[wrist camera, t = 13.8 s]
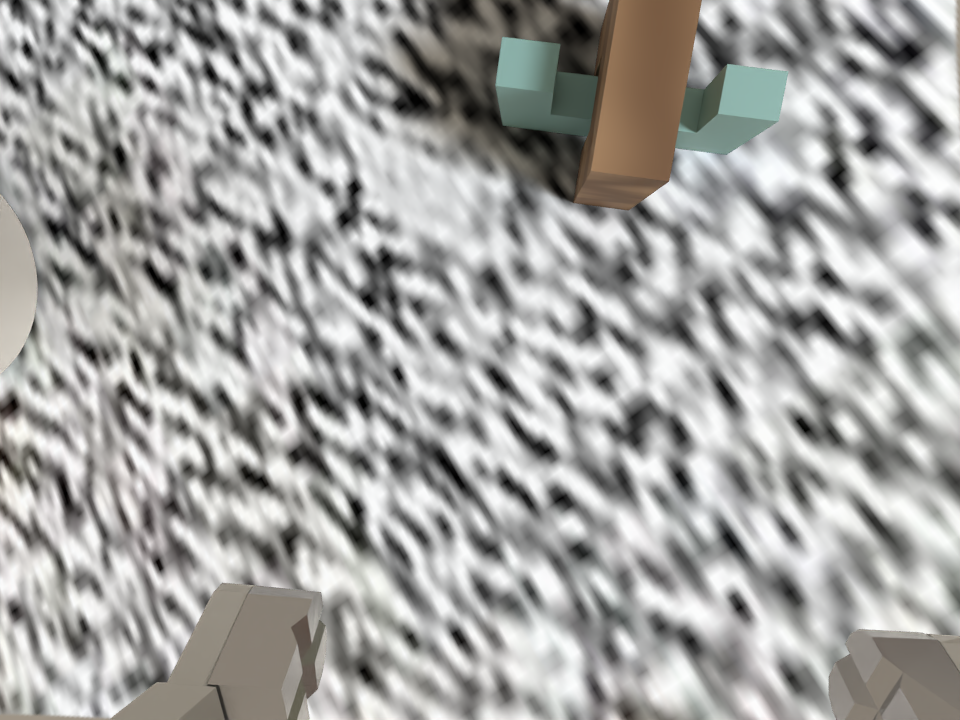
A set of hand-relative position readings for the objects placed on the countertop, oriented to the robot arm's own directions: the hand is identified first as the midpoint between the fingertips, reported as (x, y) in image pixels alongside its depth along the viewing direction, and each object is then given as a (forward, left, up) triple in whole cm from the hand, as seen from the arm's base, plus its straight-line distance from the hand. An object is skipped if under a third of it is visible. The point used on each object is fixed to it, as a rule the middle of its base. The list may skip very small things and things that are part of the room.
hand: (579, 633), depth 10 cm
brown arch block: (+2, +14, -26) cm, 30 cm away
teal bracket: (+2, +14, -26) cm, 30 cm away
